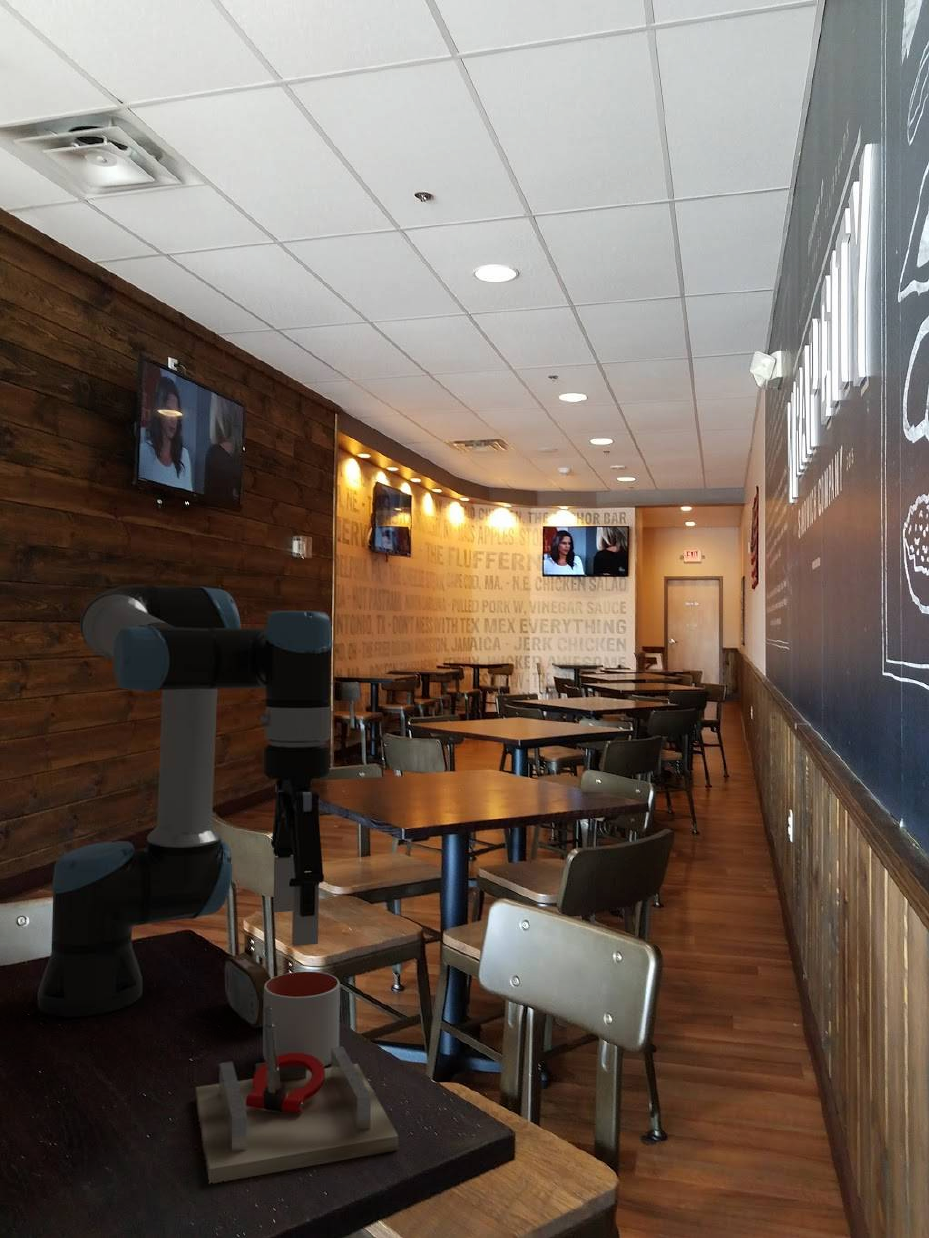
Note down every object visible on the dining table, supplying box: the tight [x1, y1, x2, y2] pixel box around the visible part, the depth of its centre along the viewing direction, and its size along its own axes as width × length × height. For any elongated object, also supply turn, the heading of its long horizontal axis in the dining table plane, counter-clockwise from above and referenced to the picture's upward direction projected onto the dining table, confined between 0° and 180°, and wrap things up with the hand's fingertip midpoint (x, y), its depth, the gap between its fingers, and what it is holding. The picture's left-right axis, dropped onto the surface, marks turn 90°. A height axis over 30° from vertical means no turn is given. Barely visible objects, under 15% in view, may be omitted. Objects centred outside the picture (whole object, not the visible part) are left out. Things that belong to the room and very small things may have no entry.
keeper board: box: [195, 1063, 399, 1185], centre depth 107 cm, size 19×20×2 cm
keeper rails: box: [218, 1045, 371, 1152], centre depth 108 cm, size 16×15×4 cm
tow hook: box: [246, 1006, 325, 1113], centre depth 110 cm, size 8×13×9 cm
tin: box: [223, 952, 272, 1029], centre depth 138 cm, size 15×3×8 cm, turn 34°
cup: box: [262, 971, 341, 1071], centre depth 124 cm, size 10×10×10 cm
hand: (294, 926), depth 108 cm, fingers open, 13 cm apart
